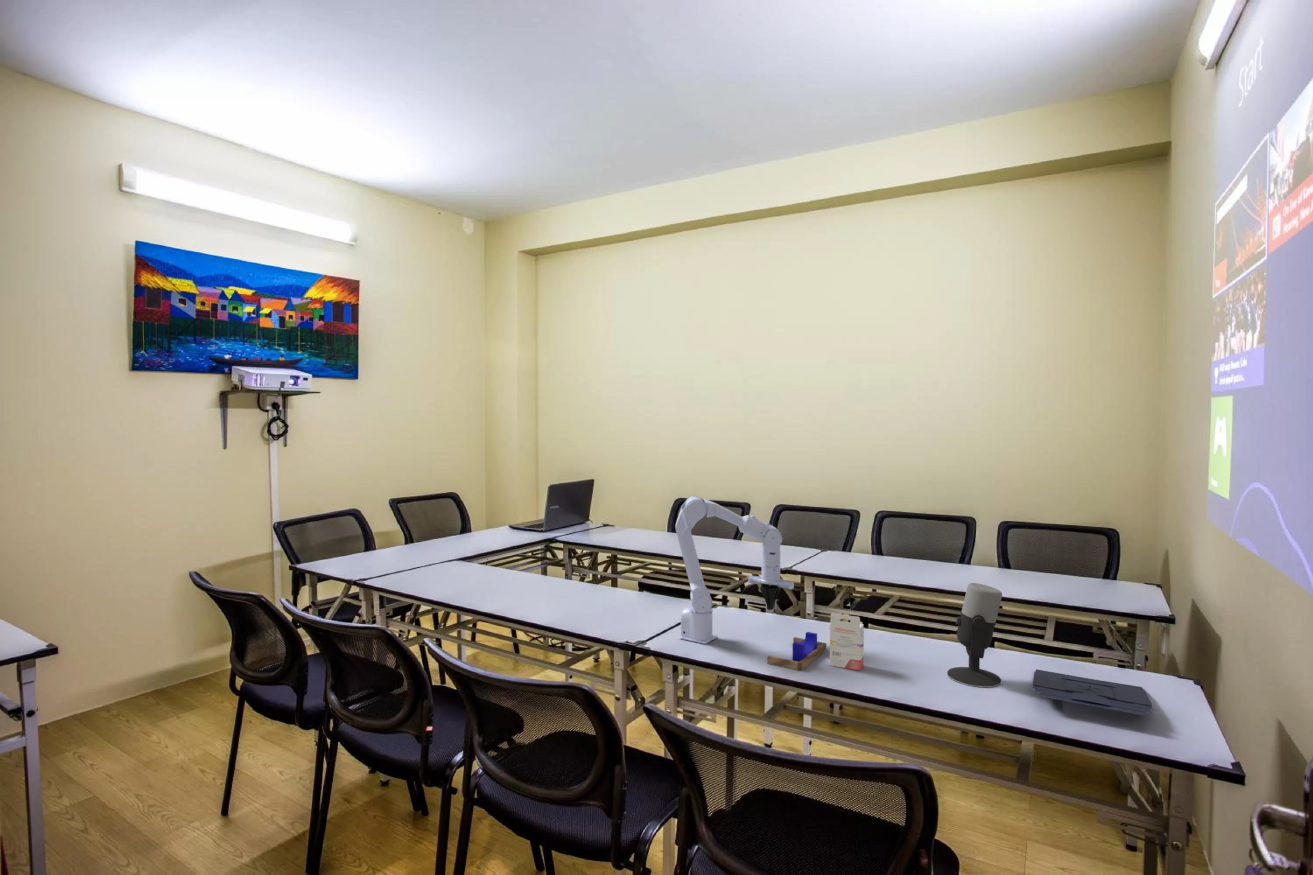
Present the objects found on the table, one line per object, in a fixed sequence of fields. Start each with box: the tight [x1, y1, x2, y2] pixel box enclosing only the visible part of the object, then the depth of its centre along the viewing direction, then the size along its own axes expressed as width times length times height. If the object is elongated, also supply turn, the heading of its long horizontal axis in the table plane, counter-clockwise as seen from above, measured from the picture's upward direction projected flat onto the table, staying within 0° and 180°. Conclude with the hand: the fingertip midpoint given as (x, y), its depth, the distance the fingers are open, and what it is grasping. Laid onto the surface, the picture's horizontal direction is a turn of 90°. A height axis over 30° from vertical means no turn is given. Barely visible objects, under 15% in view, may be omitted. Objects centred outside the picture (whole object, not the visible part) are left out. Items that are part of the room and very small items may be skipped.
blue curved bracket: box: [791, 631, 818, 662], centre depth 197 cm, size 12×4×6 cm, turn 148°
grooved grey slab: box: [1032, 669, 1154, 717], centre depth 169 cm, size 24×30×4 cm
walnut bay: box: [766, 636, 827, 672], centre depth 198 cm, size 10×20×2 cm, turn 147°
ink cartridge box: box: [829, 613, 865, 671], centre depth 191 cm, size 9×5×15 cm, turn 62°
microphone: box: [946, 582, 1003, 688], centre depth 182 cm, size 13×13×25 cm
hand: (770, 608), depth 213 cm, fingers closed
